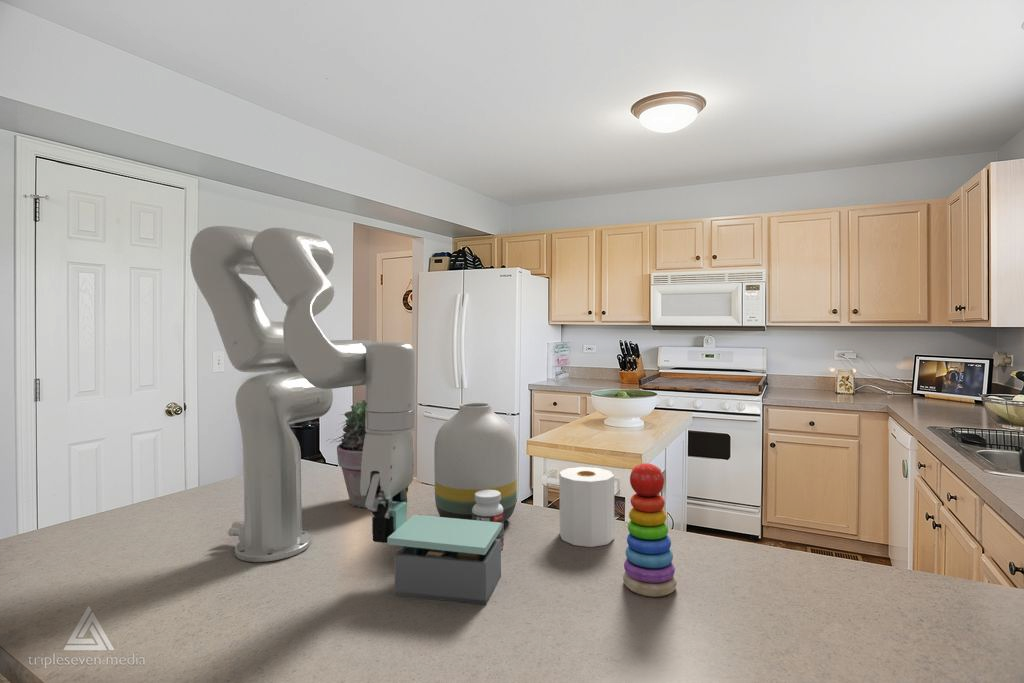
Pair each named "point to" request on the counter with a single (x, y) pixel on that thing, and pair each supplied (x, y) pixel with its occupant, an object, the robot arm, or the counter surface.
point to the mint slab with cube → (440, 532)
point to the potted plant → (353, 452)
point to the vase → (474, 461)
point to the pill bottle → (489, 509)
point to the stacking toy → (648, 536)
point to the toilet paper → (586, 506)
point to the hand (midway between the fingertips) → (389, 534)
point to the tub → (448, 574)
